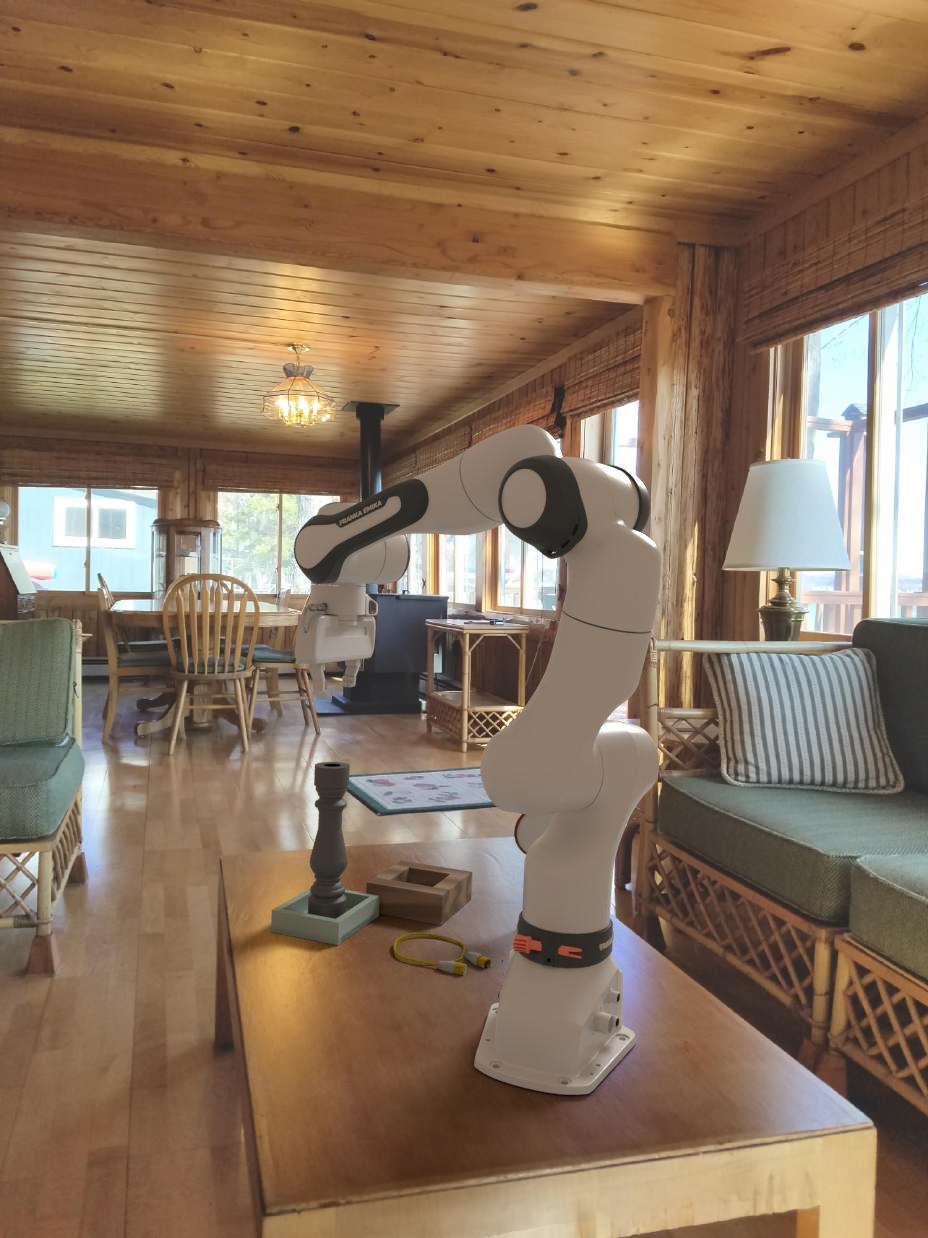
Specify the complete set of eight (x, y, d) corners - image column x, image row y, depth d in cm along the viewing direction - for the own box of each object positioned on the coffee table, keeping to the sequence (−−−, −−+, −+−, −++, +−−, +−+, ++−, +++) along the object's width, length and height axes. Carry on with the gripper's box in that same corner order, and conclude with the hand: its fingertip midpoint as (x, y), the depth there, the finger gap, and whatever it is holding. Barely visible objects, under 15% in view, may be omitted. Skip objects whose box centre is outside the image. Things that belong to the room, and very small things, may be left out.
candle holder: (341, 926, 143) (347, 769, 142) (303, 924, 143) (309, 768, 142) (348, 912, 149) (354, 762, 148) (311, 910, 149) (317, 760, 149)
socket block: (441, 925, 148) (442, 895, 147) (365, 911, 153) (366, 882, 152) (471, 899, 161) (472, 871, 161) (400, 887, 166) (401, 860, 166)
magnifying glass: (558, 923, 151) (563, 804, 150) (561, 926, 149) (567, 807, 149) (508, 924, 149) (514, 805, 149) (511, 928, 147) (516, 807, 147)
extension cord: (416, 986, 126) (417, 972, 126) (381, 944, 140) (382, 931, 140) (495, 974, 130) (495, 961, 130) (453, 935, 145) (454, 923, 145)
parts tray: (338, 945, 137) (338, 922, 137) (270, 932, 142) (271, 910, 142) (378, 916, 151) (379, 895, 150) (316, 904, 155) (316, 884, 155)
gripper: (322, 604, 134) (319, 696, 134) (382, 604, 153) (380, 685, 153) (286, 602, 136) (283, 693, 137) (350, 603, 155) (347, 683, 156)
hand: (334, 689), depth 145 cm, fingers open, 8 cm apart
